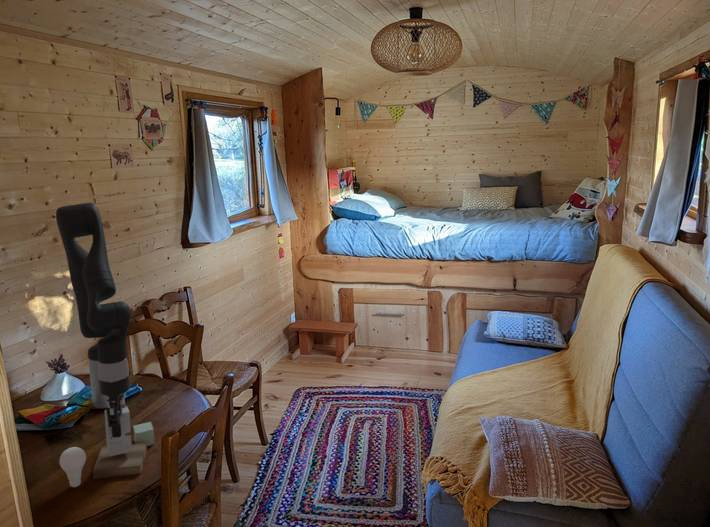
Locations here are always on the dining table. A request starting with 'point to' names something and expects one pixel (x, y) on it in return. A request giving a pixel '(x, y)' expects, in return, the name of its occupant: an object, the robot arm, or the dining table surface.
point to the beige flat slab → (120, 462)
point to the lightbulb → (73, 464)
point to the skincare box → (122, 442)
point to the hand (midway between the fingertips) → (118, 431)
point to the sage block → (144, 433)
